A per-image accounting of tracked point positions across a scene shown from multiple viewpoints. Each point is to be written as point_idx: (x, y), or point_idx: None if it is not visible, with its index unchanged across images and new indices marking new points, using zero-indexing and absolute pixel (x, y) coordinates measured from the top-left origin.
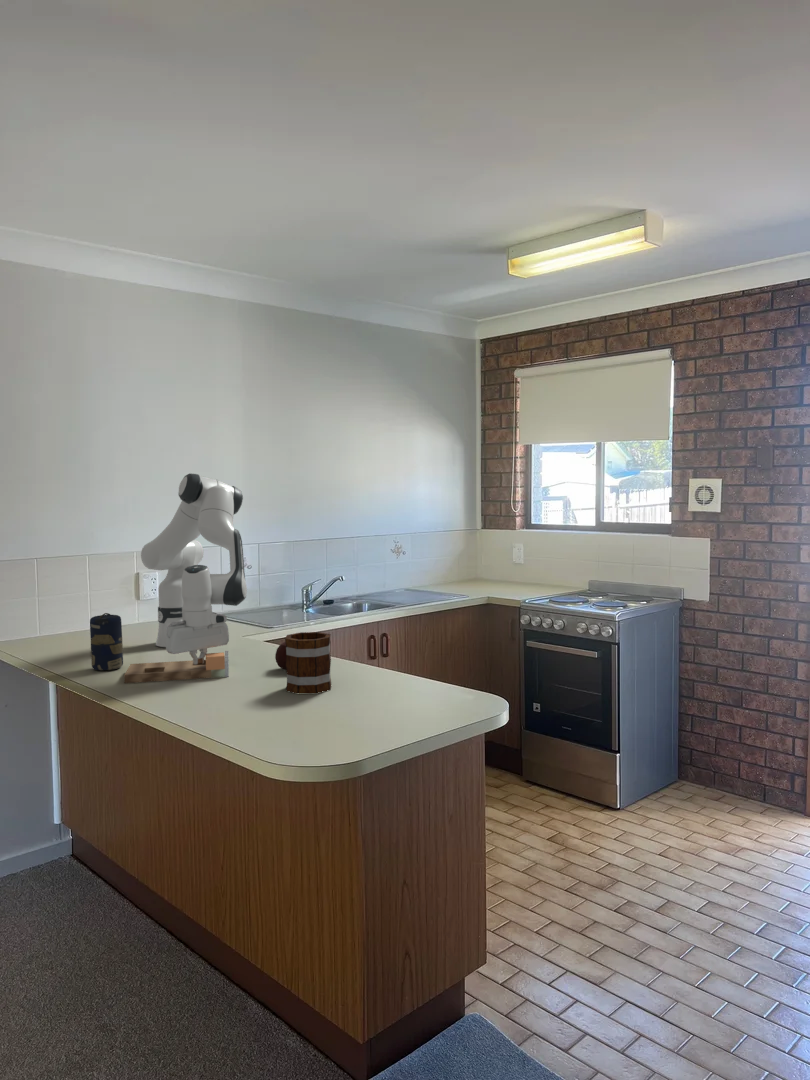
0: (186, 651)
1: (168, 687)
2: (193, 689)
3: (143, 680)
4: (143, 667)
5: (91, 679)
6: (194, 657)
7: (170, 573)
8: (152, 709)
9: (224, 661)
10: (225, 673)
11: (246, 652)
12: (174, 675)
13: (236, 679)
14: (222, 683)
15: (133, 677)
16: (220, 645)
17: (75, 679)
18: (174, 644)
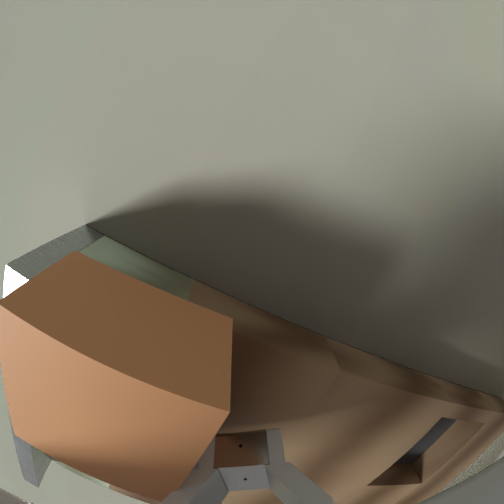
0: (444, 493)
1: (495, 226)
2: (433, 65)
3: (478, 393)
4: (413, 491)
5: (485, 457)
6: (303, 476)
7: None
8: None
9: (37, 276)
10: (89, 240)
11: (13, 479)
12: (410, 380)
13: (74, 113)
14: (208, 55)
15: (500, 405)
16: (18, 499)
17: (492, 463)
18: None
